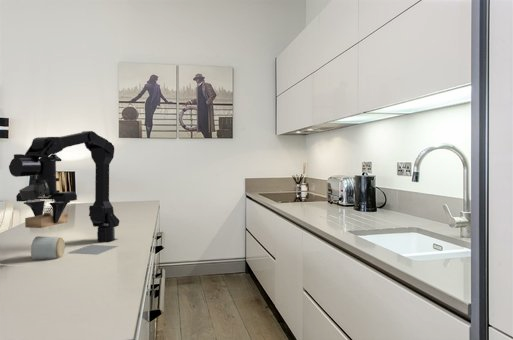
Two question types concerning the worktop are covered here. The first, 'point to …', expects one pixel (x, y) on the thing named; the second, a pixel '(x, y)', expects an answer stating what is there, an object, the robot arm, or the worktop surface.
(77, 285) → the worktop surface
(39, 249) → the ceramic mug
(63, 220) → the lid
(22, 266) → the worktop surface
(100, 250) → the mat
